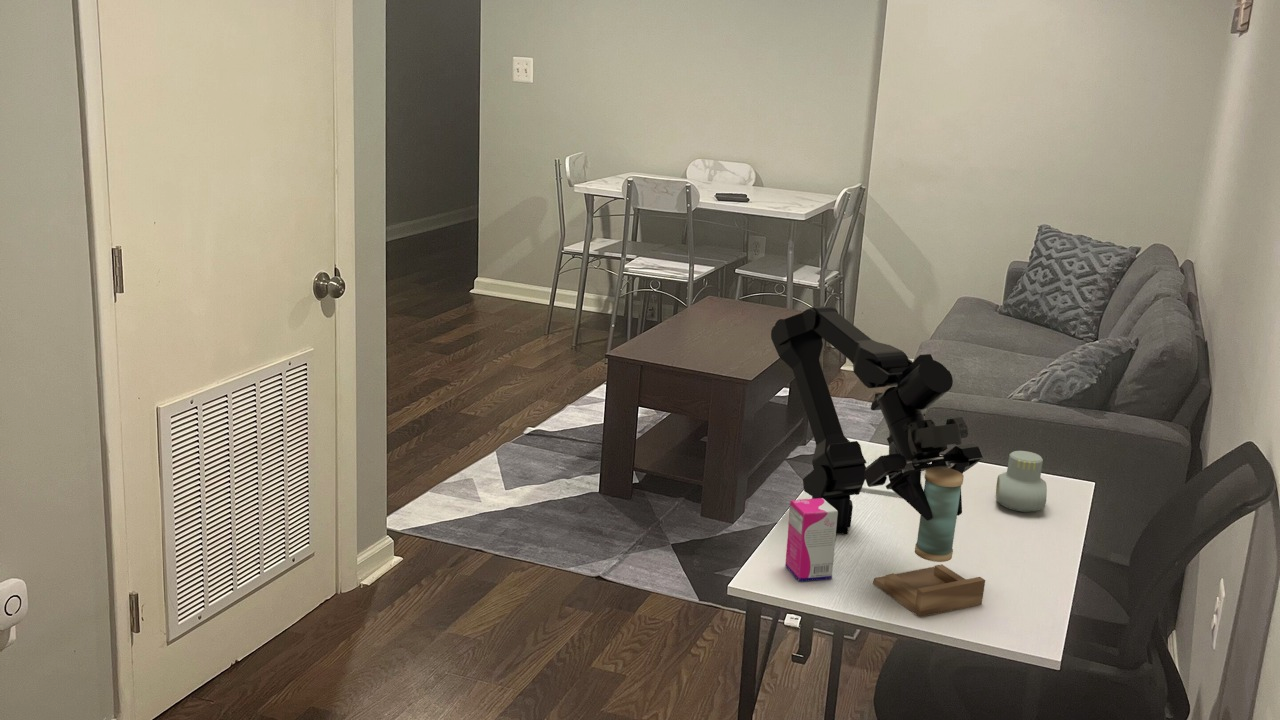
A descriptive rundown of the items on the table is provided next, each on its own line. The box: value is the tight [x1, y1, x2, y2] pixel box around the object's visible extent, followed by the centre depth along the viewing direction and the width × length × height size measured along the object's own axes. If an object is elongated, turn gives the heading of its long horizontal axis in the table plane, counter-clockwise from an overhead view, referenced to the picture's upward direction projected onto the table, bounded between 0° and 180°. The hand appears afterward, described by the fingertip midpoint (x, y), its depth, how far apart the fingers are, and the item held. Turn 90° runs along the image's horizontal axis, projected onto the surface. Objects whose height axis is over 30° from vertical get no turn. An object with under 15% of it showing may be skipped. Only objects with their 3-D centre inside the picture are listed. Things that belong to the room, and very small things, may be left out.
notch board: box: [872, 564, 986, 618], centre depth 169 cm, size 11×12×4 cm
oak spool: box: [914, 467, 964, 563], centre depth 166 cm, size 6×6×13 cm
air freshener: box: [995, 450, 1048, 513], centre depth 205 cm, size 11×8×10 cm
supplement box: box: [785, 498, 838, 583], centre depth 173 cm, size 6×6×12 cm
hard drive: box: [860, 476, 923, 499], centre depth 211 cm, size 2×8×12 cm
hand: (944, 517), depth 165 cm, fingers closed on oak spool, 5 cm apart
